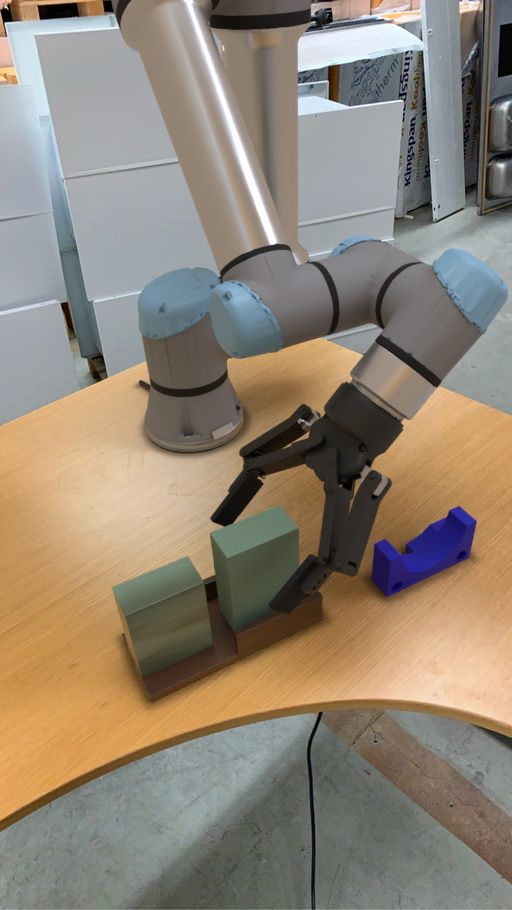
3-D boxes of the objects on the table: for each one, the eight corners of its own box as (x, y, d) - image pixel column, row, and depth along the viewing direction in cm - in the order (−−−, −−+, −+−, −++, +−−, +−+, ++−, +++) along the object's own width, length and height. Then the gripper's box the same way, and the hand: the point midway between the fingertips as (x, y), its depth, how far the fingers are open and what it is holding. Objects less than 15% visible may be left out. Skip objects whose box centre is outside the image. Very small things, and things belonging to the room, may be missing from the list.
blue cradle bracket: (443, 534, 81) (450, 498, 77) (469, 557, 78) (477, 521, 74) (363, 571, 77) (366, 535, 73) (386, 597, 74) (390, 561, 70)
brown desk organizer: (123, 639, 71) (103, 571, 64) (283, 568, 78) (281, 500, 71) (151, 702, 65) (132, 634, 58) (322, 619, 72) (323, 550, 65)
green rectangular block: (219, 609, 72) (209, 532, 65) (282, 581, 75) (279, 504, 68) (235, 635, 70) (226, 558, 62) (300, 605, 72) (299, 527, 65)
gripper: (483, 486, 57) (333, 658, 62) (329, 361, 75) (221, 502, 79) (444, 458, 52) (283, 649, 56) (288, 331, 70) (175, 484, 74)
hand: (246, 563), depth 68 cm, fingers open, 13 cm apart
